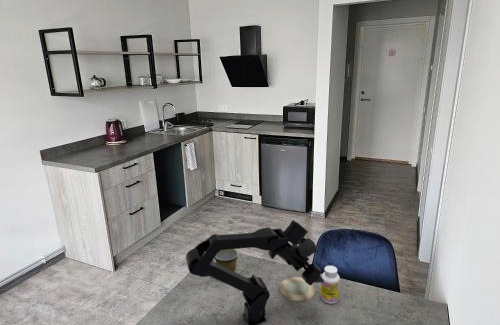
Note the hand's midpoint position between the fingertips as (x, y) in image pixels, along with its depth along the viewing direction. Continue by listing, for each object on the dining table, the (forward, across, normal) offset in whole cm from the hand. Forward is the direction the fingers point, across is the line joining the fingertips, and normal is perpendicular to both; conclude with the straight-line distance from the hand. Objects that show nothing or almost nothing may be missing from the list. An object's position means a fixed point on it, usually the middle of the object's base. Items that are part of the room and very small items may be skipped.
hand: (316, 274), depth 120 cm
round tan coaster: (+6, +9, +11) cm, 15 cm away
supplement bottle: (+13, 0, +5) cm, 14 cm away
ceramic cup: (-12, +30, +29) cm, 43 cm away
